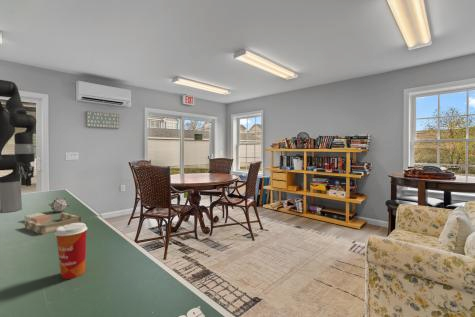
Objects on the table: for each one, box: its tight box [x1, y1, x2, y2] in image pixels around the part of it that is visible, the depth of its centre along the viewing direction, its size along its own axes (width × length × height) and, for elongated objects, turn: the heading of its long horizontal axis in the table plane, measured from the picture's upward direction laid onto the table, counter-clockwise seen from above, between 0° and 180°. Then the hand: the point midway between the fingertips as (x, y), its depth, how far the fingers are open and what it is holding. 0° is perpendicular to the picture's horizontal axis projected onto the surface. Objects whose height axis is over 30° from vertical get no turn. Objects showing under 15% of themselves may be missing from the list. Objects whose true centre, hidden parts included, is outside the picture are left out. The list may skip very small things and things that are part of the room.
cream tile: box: [24, 212, 46, 221], centre depth 119 cm, size 6×6×3 cm
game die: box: [48, 197, 70, 214], centre depth 134 cm, size 9×8×10 cm
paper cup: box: [54, 222, 88, 280], centre depth 68 cm, size 8×8×14 cm
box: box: [24, 211, 82, 235], centre depth 110 cm, size 17×15×4 cm
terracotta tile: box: [31, 214, 52, 225], centre depth 116 cm, size 6×6×3 cm
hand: (26, 185), depth 123 cm, fingers open, 4 cm apart
